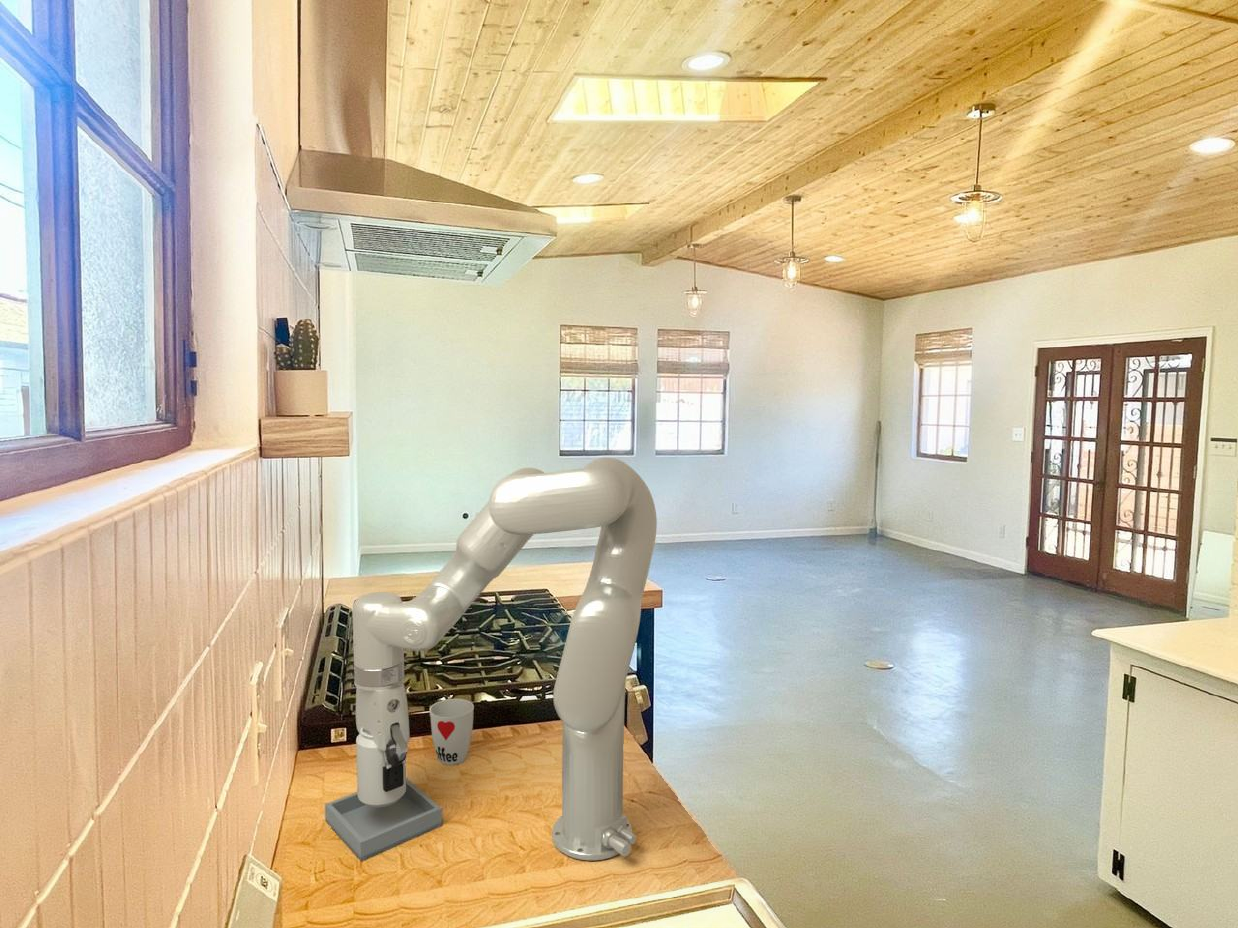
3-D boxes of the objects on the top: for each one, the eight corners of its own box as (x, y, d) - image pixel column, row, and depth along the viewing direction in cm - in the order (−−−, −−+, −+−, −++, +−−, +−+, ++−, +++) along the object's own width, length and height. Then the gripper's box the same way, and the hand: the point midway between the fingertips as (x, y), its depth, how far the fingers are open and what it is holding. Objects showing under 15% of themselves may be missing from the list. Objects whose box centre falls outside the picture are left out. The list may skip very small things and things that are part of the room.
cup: (421, 760, 141) (420, 709, 140) (453, 743, 148) (453, 694, 147) (451, 773, 137) (450, 721, 135) (483, 755, 143) (482, 705, 142)
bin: (442, 825, 121) (441, 807, 121) (361, 861, 112) (360, 842, 112) (402, 790, 131) (402, 774, 131) (325, 821, 122) (324, 803, 121)
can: (392, 813, 117) (390, 739, 115) (348, 806, 118) (346, 734, 117) (414, 787, 124) (413, 718, 122) (373, 781, 125) (371, 713, 124)
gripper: (428, 683, 115) (429, 791, 117) (377, 650, 127) (379, 749, 129) (381, 696, 109) (383, 810, 112) (333, 661, 122) (336, 764, 124)
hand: (381, 776), depth 120 cm, fingers closed on can, 7 cm apart
